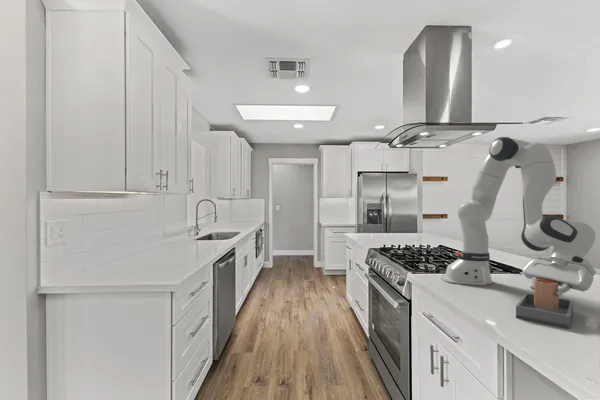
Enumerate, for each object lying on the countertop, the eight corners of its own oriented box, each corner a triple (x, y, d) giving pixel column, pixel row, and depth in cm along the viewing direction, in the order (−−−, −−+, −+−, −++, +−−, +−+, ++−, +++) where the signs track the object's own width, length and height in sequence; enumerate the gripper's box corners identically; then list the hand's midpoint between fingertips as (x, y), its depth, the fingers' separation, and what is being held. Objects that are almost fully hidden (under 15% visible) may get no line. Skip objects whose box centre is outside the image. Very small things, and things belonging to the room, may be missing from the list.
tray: (569, 328, 100) (569, 316, 100) (516, 317, 109) (516, 305, 109) (573, 311, 114) (573, 300, 114) (525, 303, 124) (525, 292, 124)
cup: (549, 309, 108) (548, 284, 108) (530, 304, 114) (529, 280, 114) (562, 307, 110) (562, 282, 110) (543, 302, 116) (542, 278, 116)
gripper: (530, 251, 124) (511, 279, 121) (592, 261, 104) (572, 294, 101) (538, 262, 125) (520, 289, 122) (602, 273, 106) (582, 306, 103)
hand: (544, 292), depth 111 cm, fingers closed on cup, 6 cm apart
